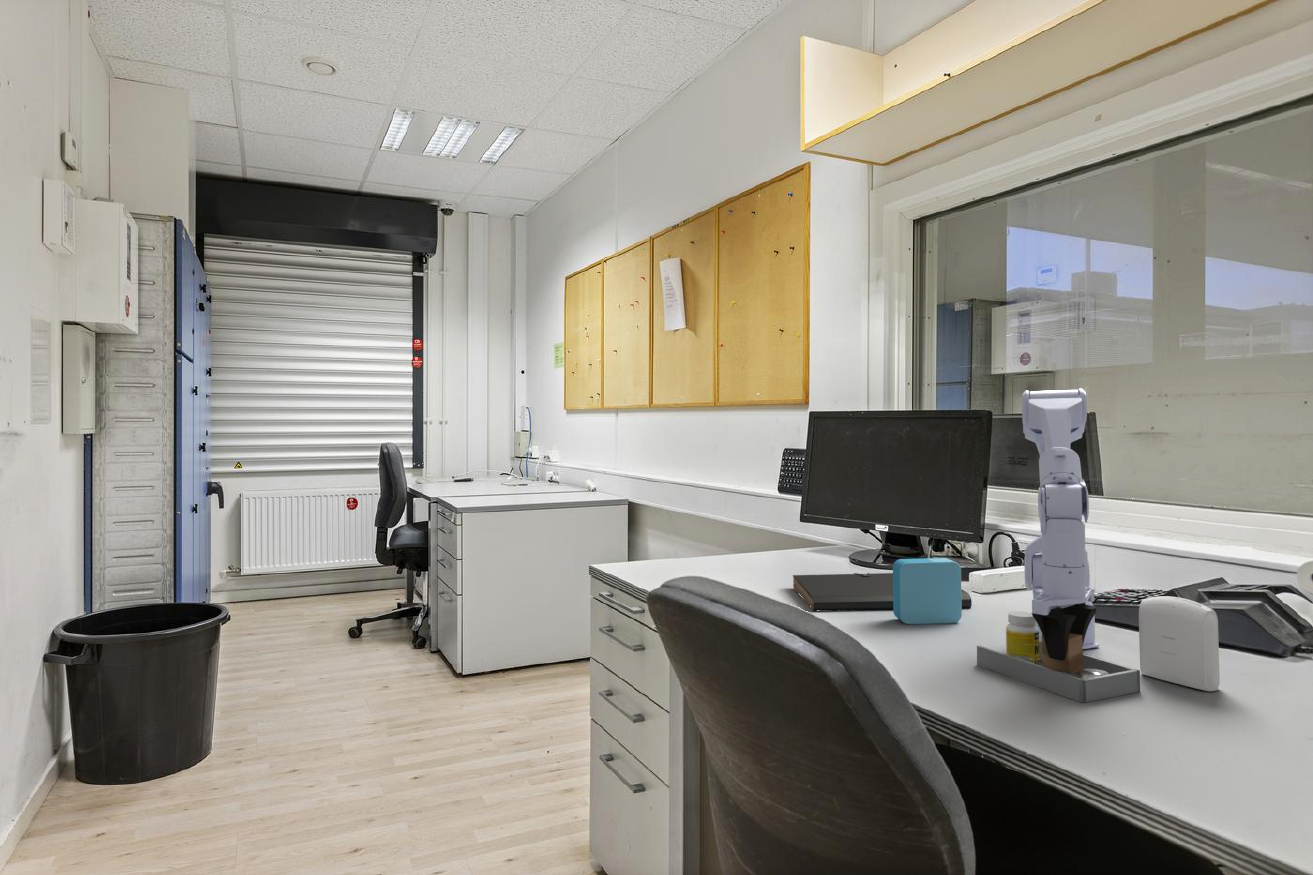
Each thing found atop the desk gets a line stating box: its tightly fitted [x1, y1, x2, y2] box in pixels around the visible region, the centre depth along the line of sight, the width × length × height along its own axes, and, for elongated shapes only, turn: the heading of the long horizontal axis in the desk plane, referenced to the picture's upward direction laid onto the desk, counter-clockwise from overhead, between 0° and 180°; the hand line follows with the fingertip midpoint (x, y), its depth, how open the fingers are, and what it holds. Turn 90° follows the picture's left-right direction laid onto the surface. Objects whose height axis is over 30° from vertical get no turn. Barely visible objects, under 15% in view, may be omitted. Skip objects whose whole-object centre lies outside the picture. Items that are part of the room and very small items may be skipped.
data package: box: [892, 557, 963, 625], centre depth 152 cm, size 12×4×12 cm, turn 91°
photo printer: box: [1138, 595, 1221, 692], centre depth 114 cm, size 10×4×12 cm, turn 26°
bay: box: [976, 641, 1141, 704], centre depth 117 cm, size 11×19×3 cm, turn 22°
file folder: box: [792, 572, 972, 612], centre depth 173 cm, size 33×4×24 cm
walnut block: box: [1041, 633, 1084, 675], centre depth 115 cm, size 4×4×5 cm
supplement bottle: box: [1005, 610, 1040, 665], centre depth 122 cm, size 5×5×8 cm
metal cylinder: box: [1080, 669, 1109, 679], centre depth 110 cm, size 4×4×3 cm
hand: (1064, 655), depth 115 cm, fingers closed on walnut block, 4 cm apart
